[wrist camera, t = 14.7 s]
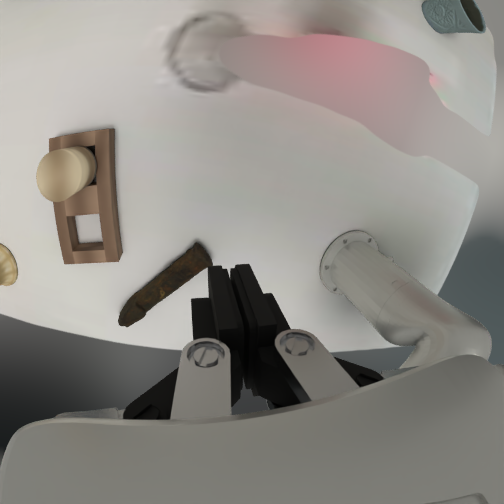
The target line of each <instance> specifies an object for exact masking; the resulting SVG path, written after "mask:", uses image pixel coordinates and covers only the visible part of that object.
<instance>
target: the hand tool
mask: <svg viewBox="0 0 504 504" xmlns="http://www.w3.org/2000/svg"><path fill="white" fill-rule="evenodd" d="M208 266H213V263H212V259H211V258H210V256H209V255H208V253H207V252H206V251H205V250H204V248H203V247H202V246H201V245H199V244H198V243H195V245H194V247H193V249H189V250H188V251H187V252H186V254H185V255H184V256H182V257H181V258H180V259H178V260H176V261H175V262H174V263H173V264H172V265H171V266H170V267H169V268H168V269H166V270H165V271H163V272H162V273H161V274H160V275H159V276H158V277H156V278H155V279H154V280H153V281H152V282H150V283H149V284H148V285H147V286H145V287H144V288H143V289H142V290H140V291H139V292H136V293H135V294H134V295H133V296H132V297H131V298H130V299H129V300H128V302H127V303H126V304H125V306H124V307H123V309H122V311H121V312H120V315H119V319H118V323H119V325H120V326H126V327H129V326H130V325H132V324H134V323H135V322H137V321H139V320H141V319H142V318H143V317H144V316H145V315H146V312H147V311H149V310H150V309H151V308H152V307H154V306H155V305H156V304H157V303H159V302H160V301H162V300H163V299H164V298H166V297H167V296H169V295H170V294H172V293H173V292H174V291H176V290H177V289H178V288H179V287H181V286H182V285H184V284H185V283H186V282H188V281H189V280H190V279H192V278H193V277H194V276H195V275H197V274H198V273H199V272H201V271H202V270H204V269H205V268H207V267H208Z"/></svg>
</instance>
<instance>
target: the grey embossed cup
mask: <svg viewBox="0 0 504 504" xmlns="http://www.w3.org/2000/svg"><path fill="white" fill-rule="evenodd" d="M422 11H423V14H424V16H425V18H426V20H427V22H428V23H429V25H430V26H431V27H432V28H433V29H434V30H435V31H437V32H439V33H456V32H458V33H484V32H485V31H486V25H485V21H484V18H483V15H482V13H481V11H480V9H479V7H478V5H477V4H476V2H475V1H474V0H428V1H425V2H424V3H423V4H422Z"/></svg>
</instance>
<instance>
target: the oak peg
mask: <svg viewBox="0 0 504 504" xmlns="http://www.w3.org/2000/svg"><path fill="white" fill-rule="evenodd" d="M96 171H97V162H96V158H95V156H94V154H93V153H92V151H91V150H89V149H88V148H86V147H84V146H74V147H70V148H64V149H59V150H54V151H51V152H49V153H48V154H46V155H45V156H44V157H43V159H42V160H41V162H40V163H39V166H38V169H37V175H36V179H37V185H38V188H39V190H40V192H41V194H42V195H43V196H44V197H45V198H46V199H48V200H50V201H53V202H61V201H64V200H66V199H67V198H69V197H71V196H72V195H74V194H75V193H77V192H78V191H80V190H81V189H83V188H85V187H87V186H88V185H89V184H90V183H91V182H92V181H93V179H94V177H95V175H96Z"/></svg>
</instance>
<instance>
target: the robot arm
mask: <svg viewBox="0 0 504 504" xmlns="http://www.w3.org/2000/svg"><path fill="white" fill-rule="evenodd" d="M320 276H321V280H322V282H323V284H324V285H325V287H326V288H327V289H328V290H329V291H331V292H332V293H335V294H341V295H343V294H344V295H345V296H346V297H347V298H348V299H349V300H350V301H351V302H352V303H353V304H354V306H355V307H356V308H357V309H358V310H359V311H360V312H361V313H362V314H363V315H364V317H365V318H366V319H367V320H368V321H369V322H370V323H371V324H372V325H373V327H374V328H375V329H376V330H377V331H378V332H379V333H380V334H381V336H382V337H383V338H384V339H385V340H387V341H388V342H390V343H392V344H394V345H399V346H416V347H415V349H414V351H413V352H412V353H411V354H410V356H409V358H408V359H407V360H406V361H405V362H404V363H403V365H402V366H401V367H400V368H399V369H394V370H386V371H381V373H380V374H379V373H377V372H376V371H373V370H371V369H368V368H365V367H362V366H359V365H356V364H353V363H350V362H347V361H344V360H342V359H339V358H336V357H333V356H332V355H331V354H330V353H329V351H328V350H327V349H326V348H325V347H324V346H323V344H322V343H321V342H320V341H319V340H318V339H317V337H315V336H314V335H313V334H311V333H309V332H307V331H304V330H301V329H290V327H289V325H288V323H287V321H286V319H285V317H284V315H283V313H282V311H281V309H280V307H279V305H278V304H277V302H276V300H275V298H274V296H273V294H272V293H266V294H263V292H262V290H261V288H260V286H259V284H258V281H257V279H256V277H255V275H254V273H253V271H252V269H251V266H250V264H240V265H235V268H231V270H230V278H229V274H228V271H227V269H222V266H208V289H209V298H193V299H191V306H192V326H193V341H192V342H190V343H188V344H187V345H186V346H185V347H184V348H183V351H182V354H181V359H180V364H179V367H178V368H177V369H175V370H174V371H173V372H172V373H170V374H169V375H168V376H166V377H165V378H164V379H162V380H161V381H160V382H158V383H157V384H156V385H155V386H153V387H152V388H151V389H149V390H148V391H147V392H145V393H144V394H142V395H141V396H140V397H138V398H137V399H136V400H134V401H133V402H132V403H130V404H129V405H128V406H127V407H126V409H125V410H117V408H109V409H101V410H93V411H82V412H70V413H63V414H59V415H57V416H56V417H55V418H53V419H48V420H42V421H37V422H33V423H30V424H28V425H26V426H23V427H22V428H20V429H19V430H18V431H17V432H16V433H15V434H14V435H13V437H12V438H11V440H10V442H9V444H8V446H7V448H6V451H5V454H4V457H3V460H2V463H1V468H0V504H504V365H502V364H497V365H494V366H493V365H492V364H491V363H489V362H488V361H487V360H488V358H489V355H490V352H491V346H492V342H491V337H490V334H489V332H488V331H487V329H486V328H485V327H484V326H483V325H482V324H481V323H480V322H478V321H477V320H476V319H474V318H473V317H471V316H469V315H467V314H465V313H464V312H462V311H460V310H459V309H457V308H455V307H453V306H452V305H450V304H449V303H447V302H446V301H444V300H443V299H441V298H440V297H439V296H437V295H436V294H435V293H433V292H432V291H430V290H429V289H428V288H427V287H425V286H424V285H423V284H421V283H420V282H419V281H417V280H416V279H415V278H414V277H412V276H411V275H410V274H408V273H407V272H406V271H404V270H403V269H402V268H400V267H399V266H398V265H396V264H395V263H393V258H392V257H385V256H384V255H382V254H381V253H380V252H379V249H378V245H377V243H376V241H375V240H374V238H373V237H371V236H370V235H369V234H367V233H365V232H362V231H352V232H348V233H346V234H344V235H342V236H340V237H339V238H337V239H336V240H335V241H334V242H333V243H332V244H331V245H330V246H329V248H328V249H327V251H326V252H325V254H324V256H323V259H322V262H321V266H320ZM243 379H244V383H245V387H246V389H250V388H251V390H252V393H253V396H261V397H263V398H265V399H267V405H268V408H269V410H266V411H260V412H253V413H246V414H239V415H231V407H232V406H233V405H234V404H235V403H236V402H237V401H238V400H239V399H240V391H241V390H242V385H243Z"/></svg>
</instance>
